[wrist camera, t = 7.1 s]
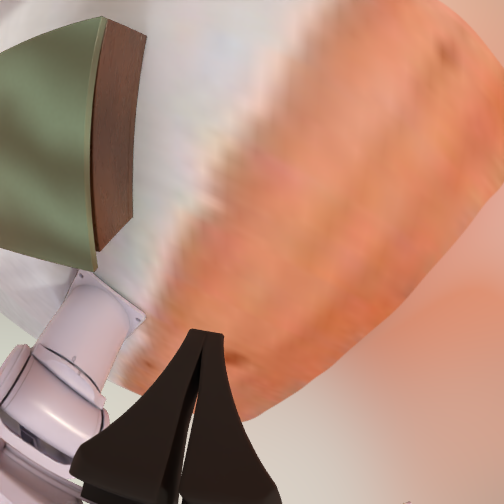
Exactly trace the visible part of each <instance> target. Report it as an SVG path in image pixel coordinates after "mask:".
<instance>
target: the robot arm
mask: <svg viewBox="0 0 504 504" xmlns="http://www.w3.org/2000/svg"><path fill="white" fill-rule="evenodd" d="M138 318H139V319H138ZM145 318H146V315H145V313H143V312H142V311H141V310H139V309H138V308H137V307H135V306H134V305H132V304H131V303H130V302H128V301H127V300H126V299H124V298H123V297H122V296H121V295H119V294H118V293H117V292H115V291H114V290H113V289H112V288H110V287H109V286H108V285H106V284H105V283H104V282H103V281H102V280H100V279H99V278H98V277H97V276H95V275H94V274H93V273H92V272H89V271H85V270H81V269H79V270H78V272H77V274H76V276H75V279H74V281H73V283H72V285H71V287H70V289H69V291H68V294H67V296H66V298H65V300H64V303H63V304H62V306H61V307H60V308H59V310H58V311H57V312H56V314H55V315H54V317H53V318H52V319H51V321H50V322H49V324H48V325H47V327H46V328H45V330H44V331H43V333H42V334H41V335H40V337H39V339H38V340H37V342H36V343H35V345H34V346H33V347H32V348H30V347H29V346H28V345H27V344H24V345H17V346H16V347H15V348H14V349H13V350H12V352H11V353H10V354H9V356H8V357H7V358H6V360H5V361H4V363H3V364H2V366H1V368H0V504H83V502H82V500H83V501H85V502H87V503H90V504H178V498H179V493H180V495H181V496H182V504H282V501H281V498H280V494H279V492H278V489H277V486H276V485H275V483H274V481H273V480H272V478H271V477H270V476H269V474H268V472H267V471H266V469H265V468H264V466H263V465H262V463H261V461H260V459H259V458H258V456H257V454H256V452H255V450H254V449H253V446H252V444H251V442H250V440H249V438H248V436H247V434H246V432H245V430H244V428H243V425H242V423H241V420H240V417H239V415H238V412H237V409H236V406H235V403H234V400H233V397H232V393H231V389H230V386H229V381H228V376H227V372H226V366H225V359H224V335H223V334H221V333H215V332H209V331H203V330H197V329H190V330H189V332H188V334H187V336H186V338H185V340H184V341H183V343H182V345H181V346H180V348H179V350H178V351H177V353H176V354H175V356H174V357H173V359H172V360H171V361H170V363H169V364H168V366H167V367H166V368H165V370H164V371H163V372H162V374H161V375H160V376H159V377H158V379H157V380H156V381H155V382H154V384H153V385H152V386H151V387H150V388H149V389H148V390H147V391H146V393H145V394H144V395H143V396H142V397H141V398H140V399H139V400H138V401H137V402H136V403H135V404H134V405H133V406H132V407H131V408H129V409H128V410H127V411H126V412H125V413H124V414H123V415H122V416H121V417H119V418H118V419H117V420H116V421H114V422H113V423H112V424H110V422H109V415H108V413H107V411H106V410H105V409H104V408H103V406H104V404H105V401H106V398H105V397H103V396H102V395H101V391H102V389H103V387H104V384H105V382H106V379H107V377H108V375H109V372H110V370H111V368H112V365H113V363H114V361H115V359H116V356H117V354H118V352H119V350H120V348H121V345H122V343H123V342H124V340H125V339H126V338H127V337H128V336H129V335H130V334H131V333H132V332H133V331H134V330H135V329H136V328H137V327H138V326H139V325H140V324H141V323H142V322H143V321H144V320H145ZM197 395H198V399H197V404H196V409H195V414H194V418H193V423H192V428H191V433H190V438H189V442H188V448H187V452H186V457H185V461H184V466H183V458H184V452H185V445H186V438H187V432H188V428H189V423H190V420H191V416H192V413H193V409H194V405H195V402H196V398H197ZM182 466H183V470H182ZM181 473H182V475H181ZM75 478H77V479H79V480H81V481H83V482H84V484H83V487H81V486H79V485H77V484H74V483H73V482H70V481H68V480H66V479H75ZM403 504H411V502H406V503H403Z"/></svg>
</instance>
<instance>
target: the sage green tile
mask: <svg viewBox="0 0 504 504" xmlns="http://www.w3.org/2000/svg"><path fill="white" fill-rule="evenodd" d="M106 23H107V18H105V17H103V16H101V17H96V18H92V19H88V20H84V21H81V22H77V23H74V24H70V25H67V26H64V27H61V28H58V29H55V30H52V31H49V32H47V33H44V34H41V35H39V36H36V37H34V38H31V39H29V40H27V41H24V42H22V43H20V44H18V45H16V46H14V47H11V48H9V49H7V50H5V51H3V52H1V53H0V248H3V249H6V250H10V251H13V252H16V253H20V254H23V255H27V256H31V257H34V258H38V259H42V260H45V261H49V262H53V263H57V264H61V265H65V266H69V267H73V268H77V269H81V270H85V271H89V272H95V270H96V269H97V268H98V265H97V258H96V251H95V243H94V234H93V224H92V212H91V195H90V131H91V116H92V104H93V94H94V86H95V79H96V72H97V66H98V60H99V54H100V49H101V44H102V40H103V35H104V31H105V27H106Z"/></svg>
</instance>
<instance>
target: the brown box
mask: <svg viewBox="0 0 504 504" xmlns="http://www.w3.org/2000/svg"><path fill="white" fill-rule="evenodd" d="M146 38H147V36H146V35H144V34H142V33H140V32H137V31H135V30H133V29H131V28H129V27H126V26H124V25H122V24H119V23H117V22H115V21H112V20H110V19H107V23H106V27H105V31H104V35H103V40H102V44H101V49H100V54H99V60H98V66H97V72H96V79H95V86H94V94H93V104H92V116H91V131H90V195H91V212H92V224H93V234H94V243H95V251H98V252H100V251H101V250H102V249H103V248H104V247H105V246H106V245H107V244H108V243H109V241H110V240H111V239H112V238H113V237H114V236H115V235H116V234H117V233H118V232H119V231H120V230H121V229H122V228H123V227H124V226H125V225H126V223H127V222H128V221H129V220H130V219H131V218H132V217H133V199H132V176H133V145H134V128H135V116H136V105H137V96H138V88H139V80H140V73H141V66H142V60H143V54H144V49H145V43H146Z"/></svg>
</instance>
